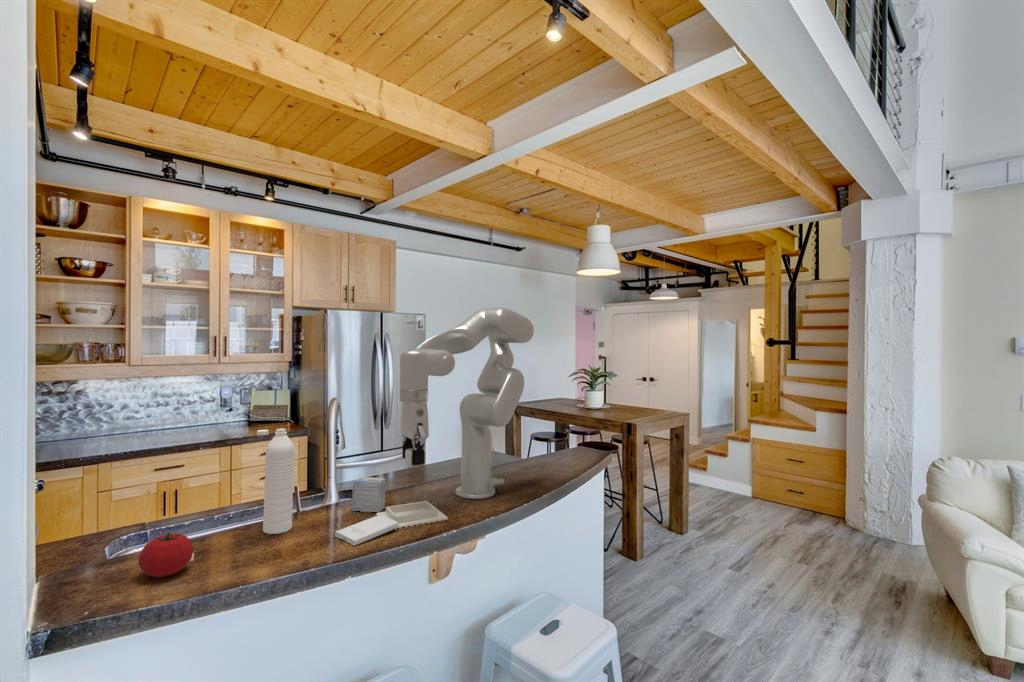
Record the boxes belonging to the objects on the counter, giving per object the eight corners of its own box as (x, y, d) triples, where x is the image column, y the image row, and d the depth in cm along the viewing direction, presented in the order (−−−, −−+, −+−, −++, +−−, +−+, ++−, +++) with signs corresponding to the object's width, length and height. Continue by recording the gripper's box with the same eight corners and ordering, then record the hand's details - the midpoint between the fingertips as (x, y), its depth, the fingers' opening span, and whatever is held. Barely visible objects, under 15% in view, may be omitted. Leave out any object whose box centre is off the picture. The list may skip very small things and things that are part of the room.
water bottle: (286, 522, 120) (289, 425, 121) (296, 529, 116) (299, 429, 116) (249, 531, 114) (252, 429, 114) (258, 539, 110) (261, 432, 110)
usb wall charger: (411, 467, 123) (411, 452, 123) (401, 461, 129) (401, 447, 129) (425, 465, 125) (425, 450, 125) (415, 459, 131) (415, 445, 131)
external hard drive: (398, 528, 117) (354, 546, 107) (379, 520, 122) (335, 537, 112) (398, 522, 117) (354, 539, 107) (378, 514, 122) (334, 530, 112)
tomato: (197, 560, 98) (198, 522, 98) (186, 580, 90) (188, 538, 90) (146, 567, 95) (147, 527, 95) (130, 588, 87) (132, 544, 87)
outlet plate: (431, 506, 135) (431, 497, 136) (447, 519, 125) (447, 510, 125) (375, 515, 127) (376, 506, 127) (388, 530, 117) (389, 520, 117)
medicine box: (385, 508, 133) (385, 477, 133) (379, 513, 128) (380, 482, 129) (358, 506, 134) (359, 476, 134) (351, 512, 129) (352, 480, 129)
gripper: (438, 398, 121) (438, 467, 121) (416, 392, 136) (415, 452, 136) (411, 400, 117) (410, 470, 117) (390, 393, 132) (390, 455, 132)
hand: (413, 460), depth 127 cm, fingers closed on usb wall charger, 7 cm apart
